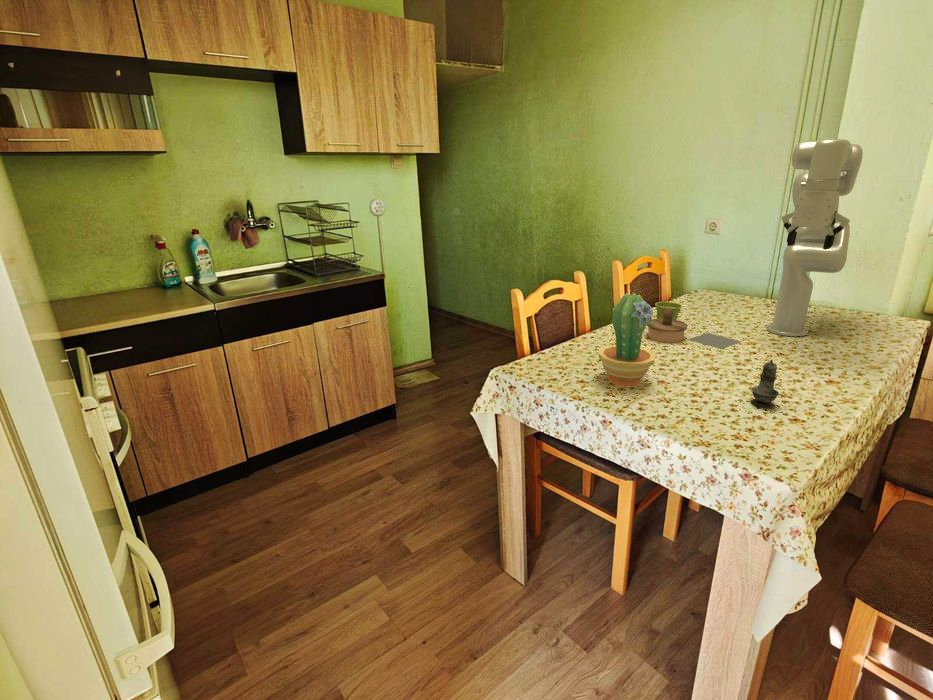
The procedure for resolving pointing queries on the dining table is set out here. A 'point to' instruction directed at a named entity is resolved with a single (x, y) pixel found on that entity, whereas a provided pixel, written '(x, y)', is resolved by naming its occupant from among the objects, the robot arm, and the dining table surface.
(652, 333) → the bowl
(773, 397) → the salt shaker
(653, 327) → the lid
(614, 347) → the potted cactus
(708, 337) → the mat
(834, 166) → the robot arm
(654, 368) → the dining table surface
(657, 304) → the plant pot
